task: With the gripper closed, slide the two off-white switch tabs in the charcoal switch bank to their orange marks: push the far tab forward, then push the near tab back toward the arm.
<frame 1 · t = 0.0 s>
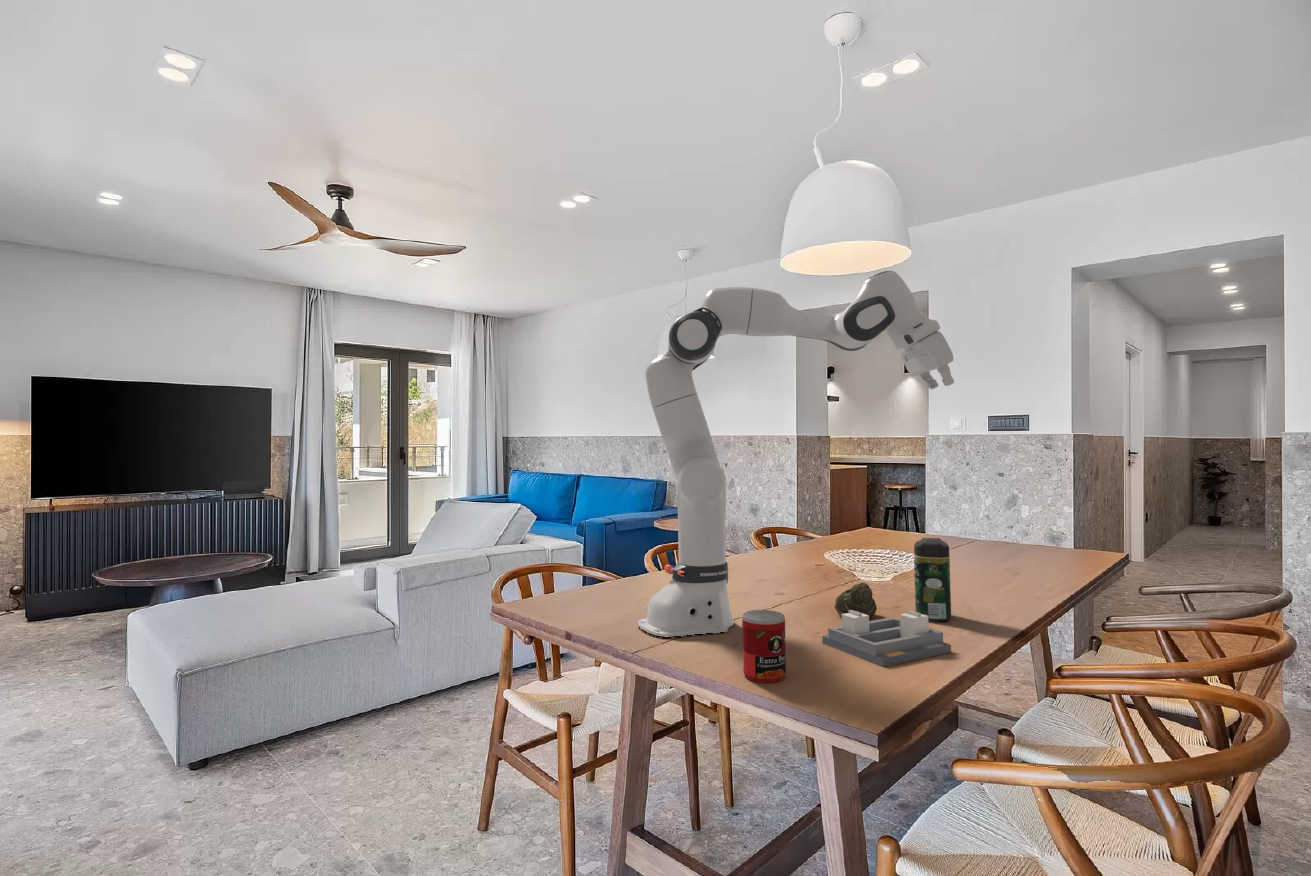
hand: (942, 386, 155), 54 cm above the table, tool tilted 30°, fingers open, 8 cm apart
dark green lumpy mound: (854, 615, 163), on the table
tab near: (914, 626, 136), point 4 cm above the table, slide at 10.0 cm
canned food: (764, 677, 121), on the table
coffee jar: (933, 618, 159), on the table
switch bank: (885, 647, 137), on the table
tab far: (855, 625, 137), point 4 cm above the table, slide at 0.0 cm
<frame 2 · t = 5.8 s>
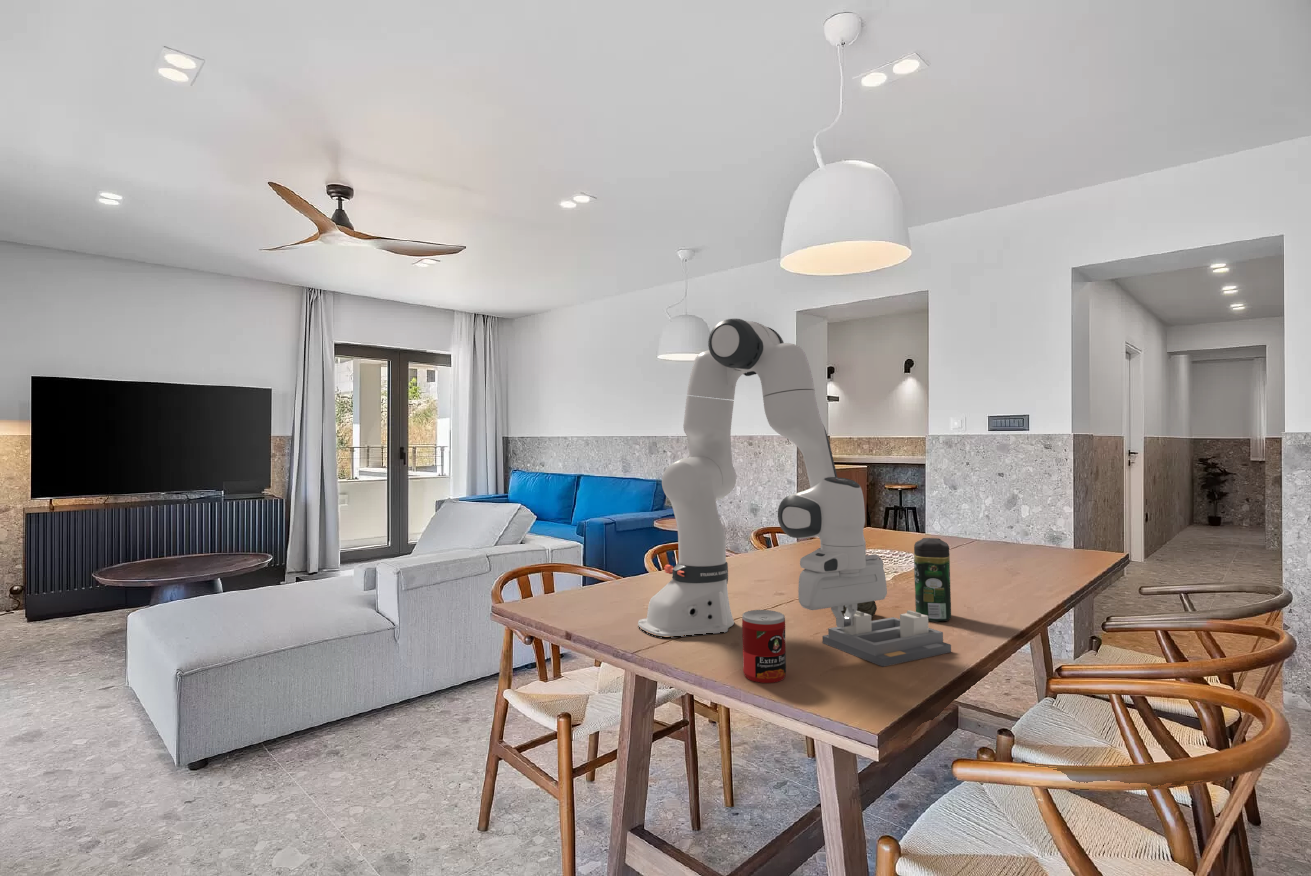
hand: (844, 626, 136), 5 cm above the table, tool pointing down, fingers closed
tab far: (857, 625, 138), point 4 cm above the table, slide at 0.6 cm, touching gripper
everything else where it was.
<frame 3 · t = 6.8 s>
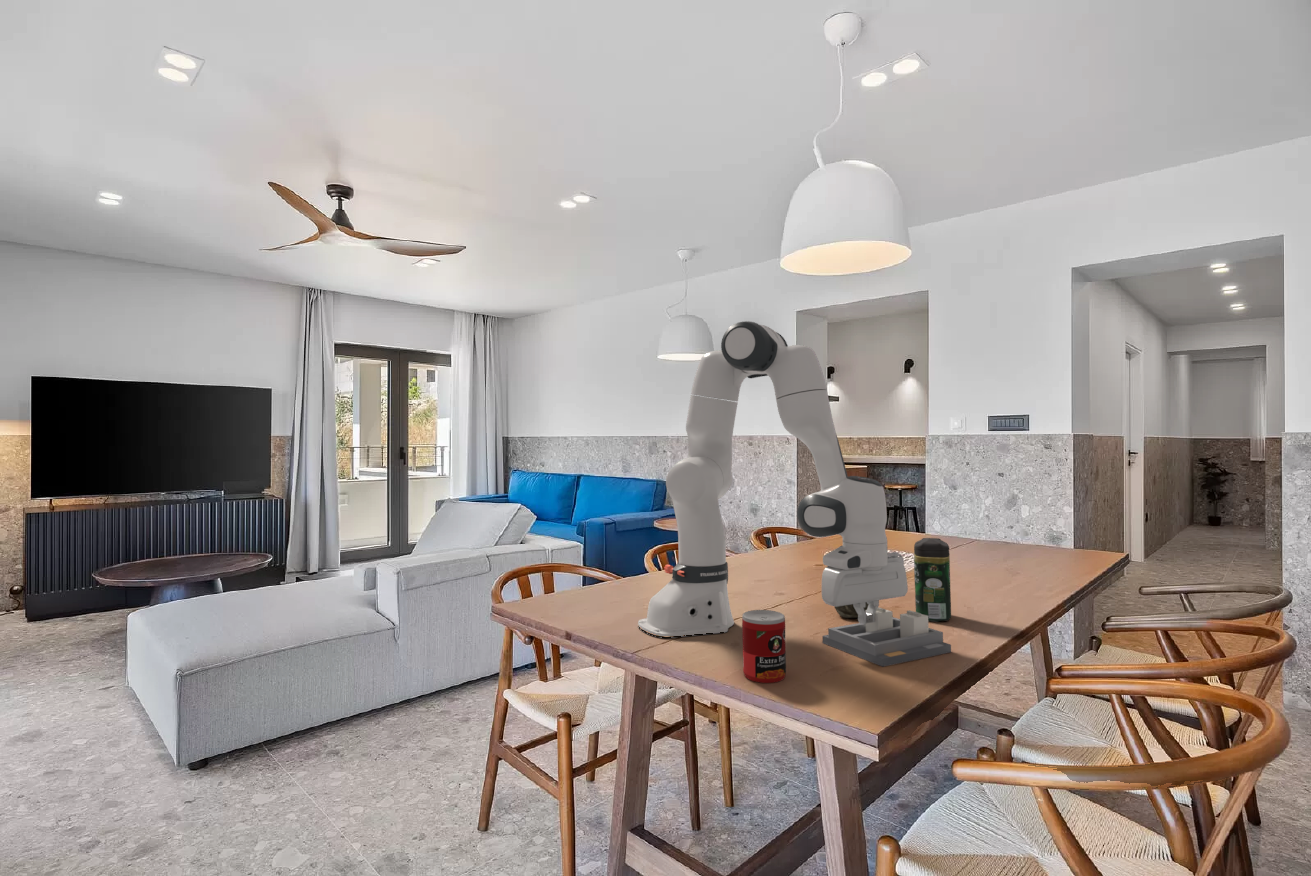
hand: (866, 622, 138), 5 cm above the table, tool pointing down, fingers closed
tab far: (879, 621, 140), point 4 cm above the table, slide at 6.4 cm, touching gripper
everything else where it was.
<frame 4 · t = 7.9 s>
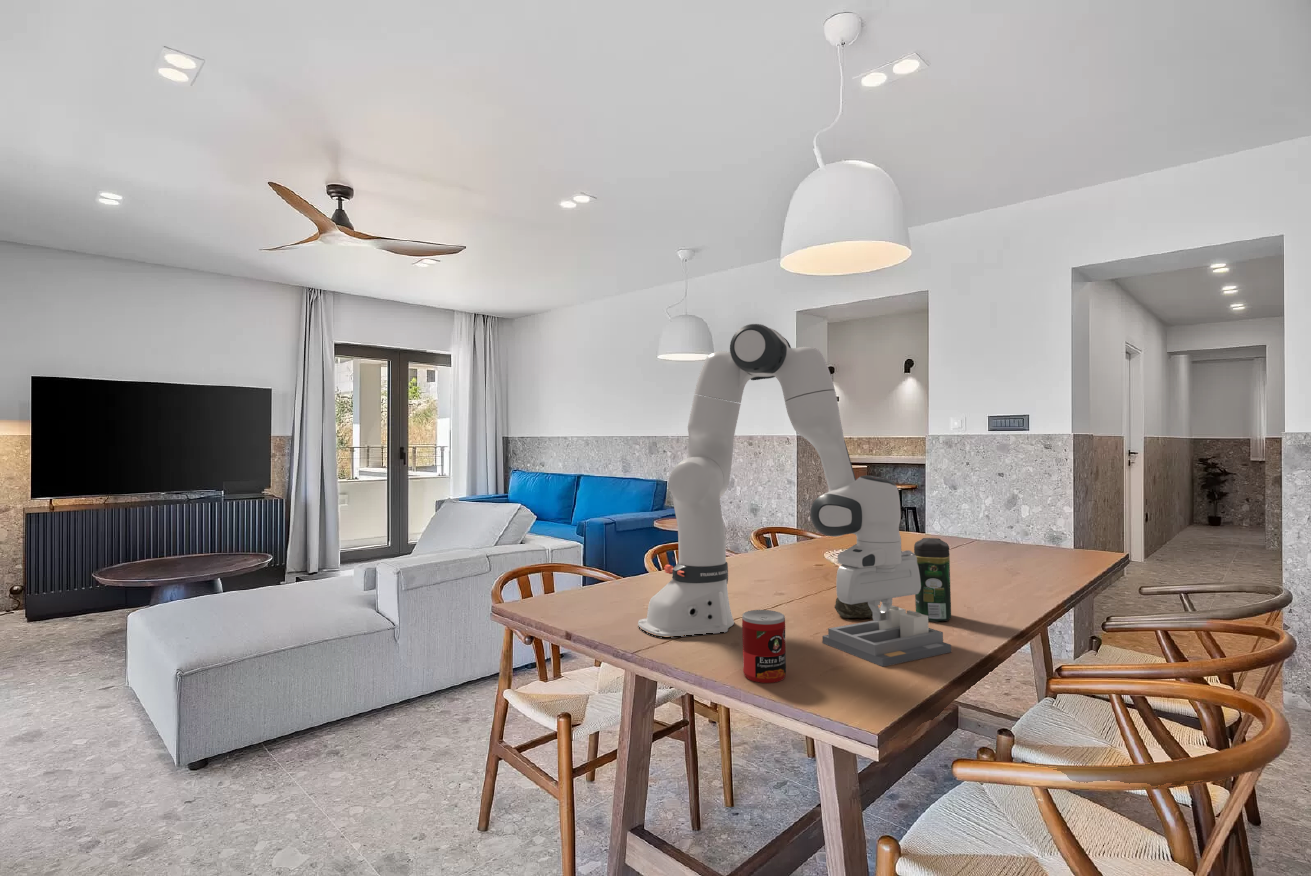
hand: (880, 620, 140), 5 cm above the table, tool pointing down, fingers closed
tab far: (892, 619, 142), point 4 cm above the table, slide at 10.1 cm, touching gripper
everything else where it was.
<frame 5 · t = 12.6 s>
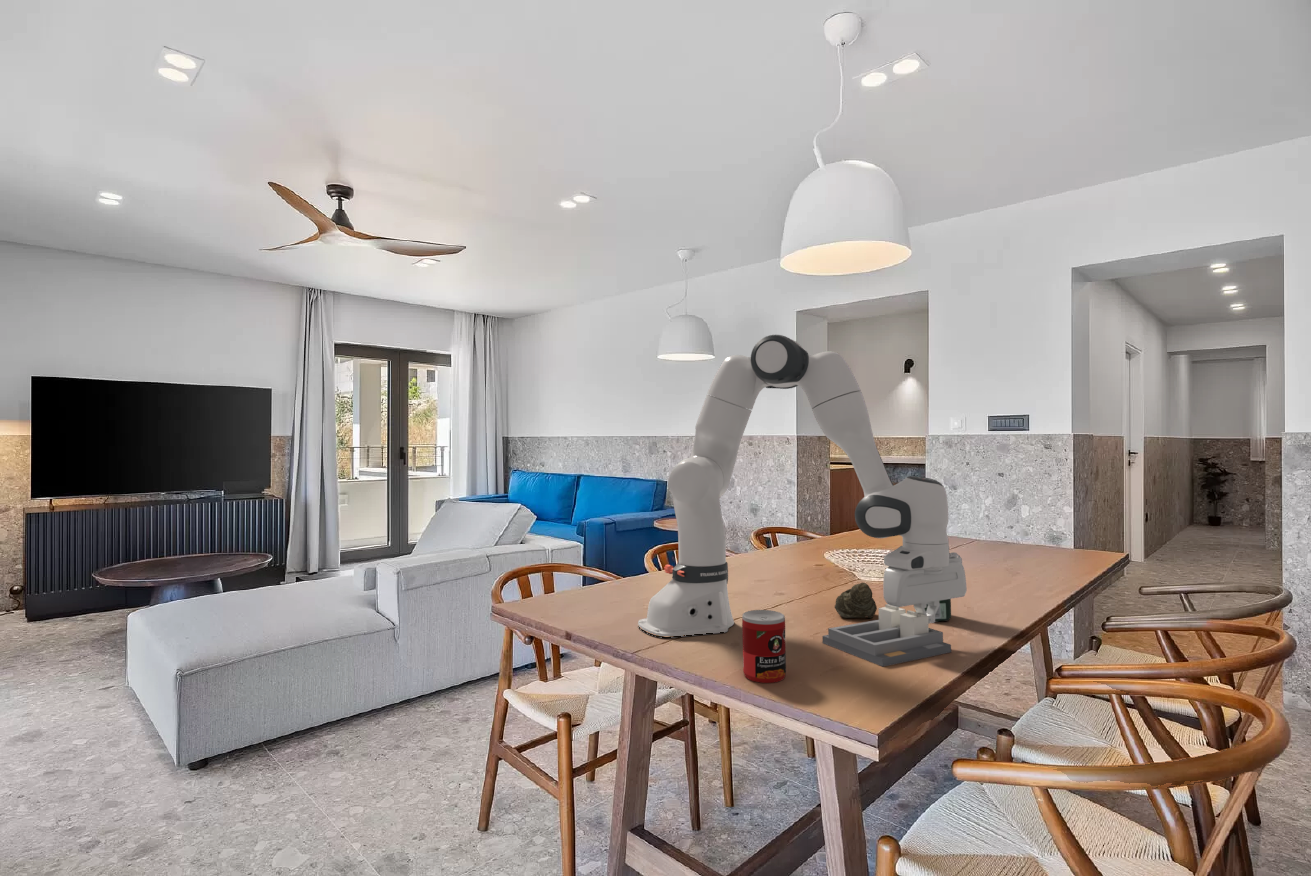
hand: (926, 623, 138), 4 cm above the table, tool pointing down, fingers closed
tab near: (914, 626, 136), point 4 cm above the table, slide at 10.0 cm, touching gripper
tab far: (892, 619, 142), point 4 cm above the table, slide at 10.1 cm
everything else where it was.
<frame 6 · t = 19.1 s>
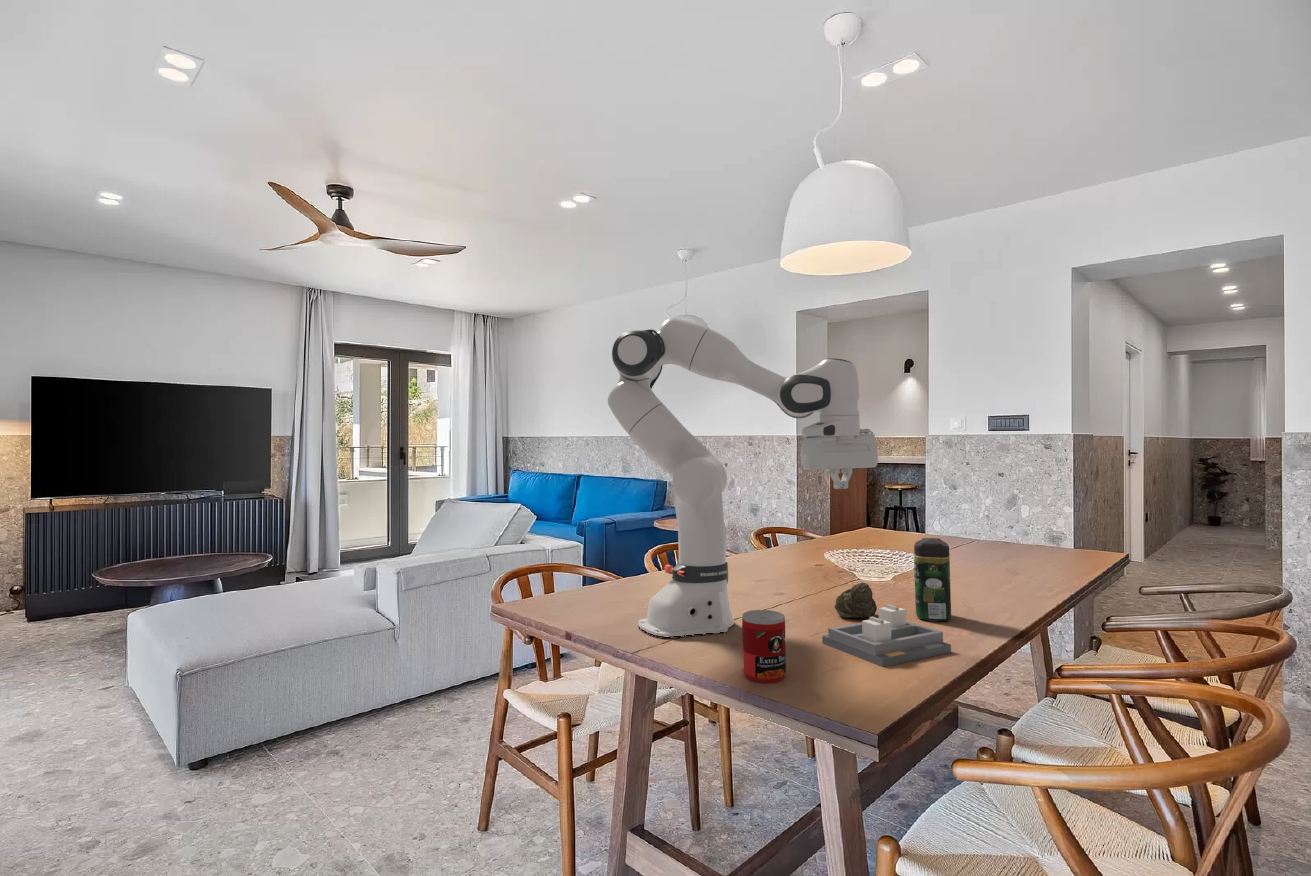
hand: (841, 488, 155), 31 cm above the table, tool pointing down, fingers closed
tab near: (876, 632, 132), point 4 cm above the table, slide at -0.1 cm
everything else where it was.
at the end: tab far slide at 10.1 cm; tab near slide at -0.1 cm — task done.
